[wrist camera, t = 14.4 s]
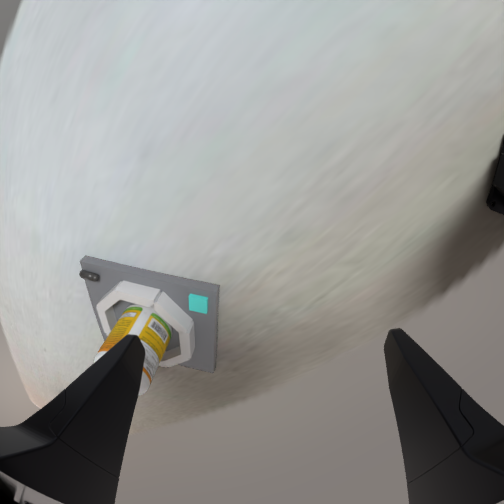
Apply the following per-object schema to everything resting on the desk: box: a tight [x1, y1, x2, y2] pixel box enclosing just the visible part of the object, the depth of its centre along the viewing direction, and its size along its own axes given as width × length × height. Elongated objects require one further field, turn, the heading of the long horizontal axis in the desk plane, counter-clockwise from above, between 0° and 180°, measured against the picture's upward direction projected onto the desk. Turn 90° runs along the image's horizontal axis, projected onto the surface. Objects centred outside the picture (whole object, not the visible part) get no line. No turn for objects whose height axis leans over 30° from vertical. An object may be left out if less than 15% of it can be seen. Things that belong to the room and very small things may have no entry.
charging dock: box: [79, 256, 219, 373], centre depth 27 cm, size 14×12×2 cm
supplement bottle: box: [93, 304, 172, 396], centre depth 23 cm, size 5×5×10 cm
